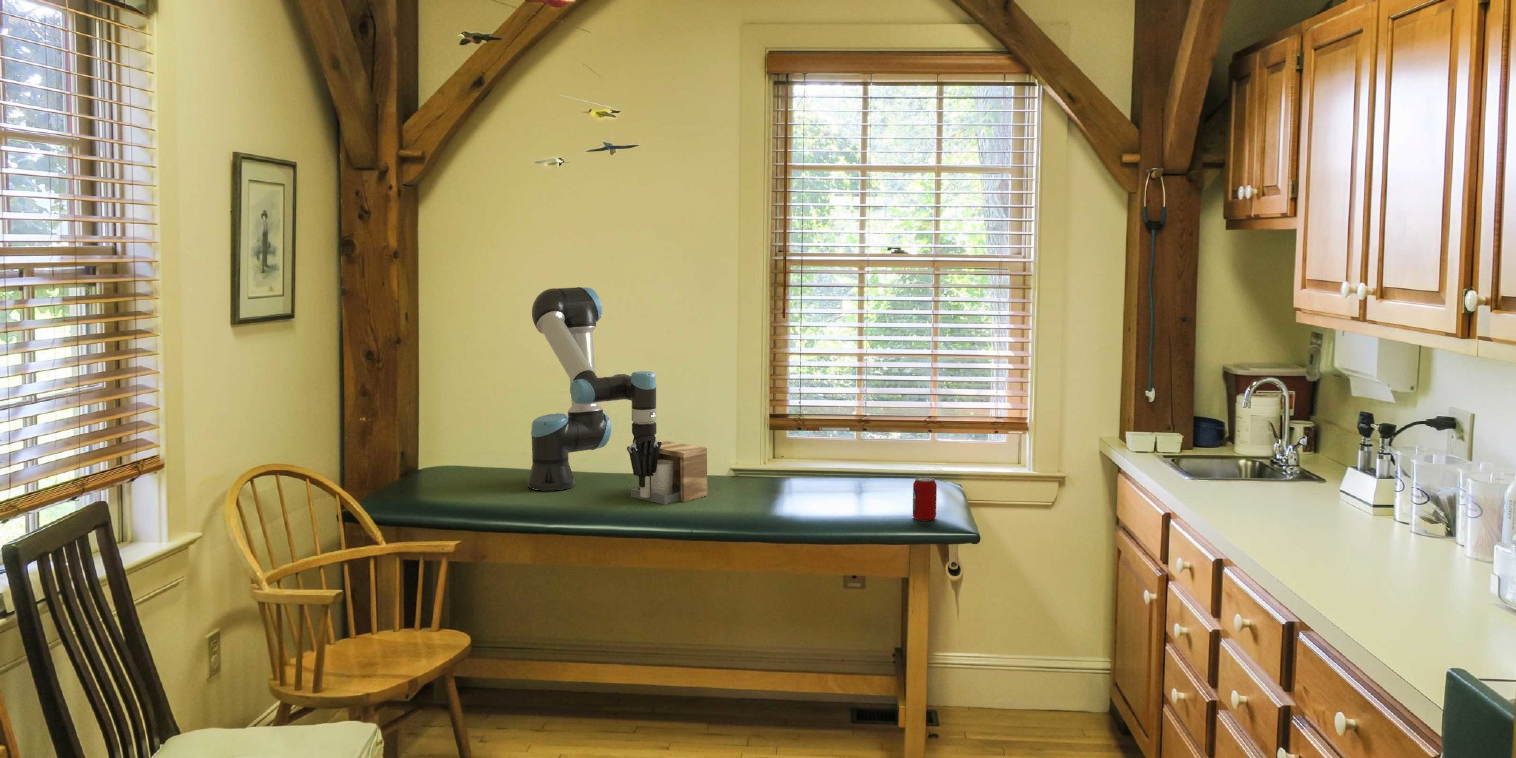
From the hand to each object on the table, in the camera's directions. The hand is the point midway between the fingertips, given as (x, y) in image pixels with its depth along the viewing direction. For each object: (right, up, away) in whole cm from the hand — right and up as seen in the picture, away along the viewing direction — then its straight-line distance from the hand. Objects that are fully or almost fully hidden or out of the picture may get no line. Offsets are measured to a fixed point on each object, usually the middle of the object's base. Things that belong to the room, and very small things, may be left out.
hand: (645, 496), depth 358 cm
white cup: (+5, 0, +7) cm, 8 cm away
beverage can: (+84, -4, -21) cm, 86 cm away
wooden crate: (+8, 0, +9) cm, 12 cm away
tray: (+6, -1, +7) cm, 9 cm away
